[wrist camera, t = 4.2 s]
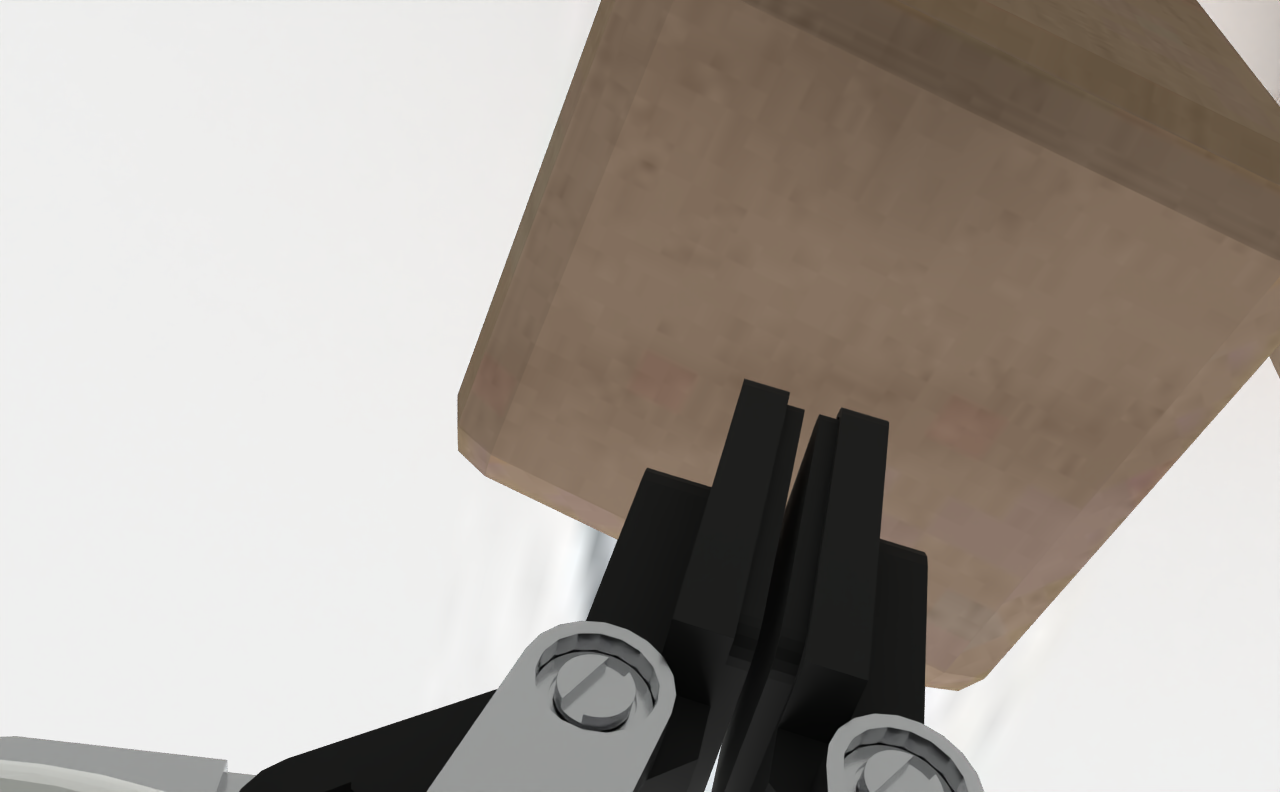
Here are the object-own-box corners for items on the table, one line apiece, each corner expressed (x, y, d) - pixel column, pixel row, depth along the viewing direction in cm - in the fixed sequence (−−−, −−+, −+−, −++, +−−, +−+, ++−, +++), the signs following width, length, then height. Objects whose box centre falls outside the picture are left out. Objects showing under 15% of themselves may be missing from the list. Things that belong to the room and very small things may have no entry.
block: (823, -232, 29) (639, -149, 13) (1167, -65, 29) (1426, 233, 13) (677, 109, 35) (418, 472, 18) (966, 248, 35) (968, 736, 18)
